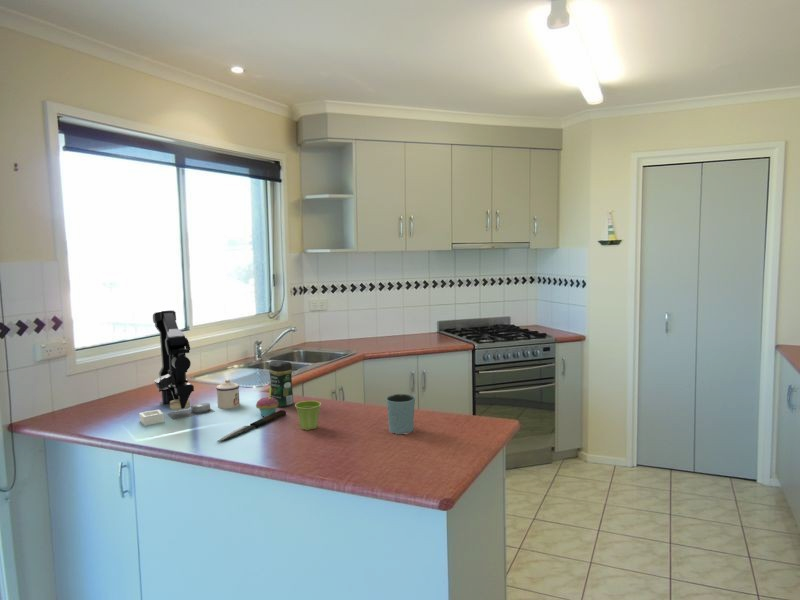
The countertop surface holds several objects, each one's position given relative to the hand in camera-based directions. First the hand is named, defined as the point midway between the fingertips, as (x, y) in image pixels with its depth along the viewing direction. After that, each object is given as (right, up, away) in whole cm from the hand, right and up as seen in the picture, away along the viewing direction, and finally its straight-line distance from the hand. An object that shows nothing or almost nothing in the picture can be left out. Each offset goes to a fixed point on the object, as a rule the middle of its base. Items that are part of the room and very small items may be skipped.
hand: (180, 406), depth 219 cm
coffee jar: (+37, -2, +15) cm, 40 cm away
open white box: (-8, -5, -8) cm, 12 cm away
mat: (+3, -4, +3) cm, 6 cm away
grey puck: (+6, -3, +5) cm, 9 cm away
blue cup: (+87, -5, -23) cm, 90 cm away
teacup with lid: (+15, -3, +13) cm, 21 cm away
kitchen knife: (+32, -6, -15) cm, 36 cm away
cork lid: (0, -1, 0) cm, 0 cm away
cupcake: (+35, -4, -1) cm, 35 cm away
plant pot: (+53, -5, -17) cm, 56 cm away
